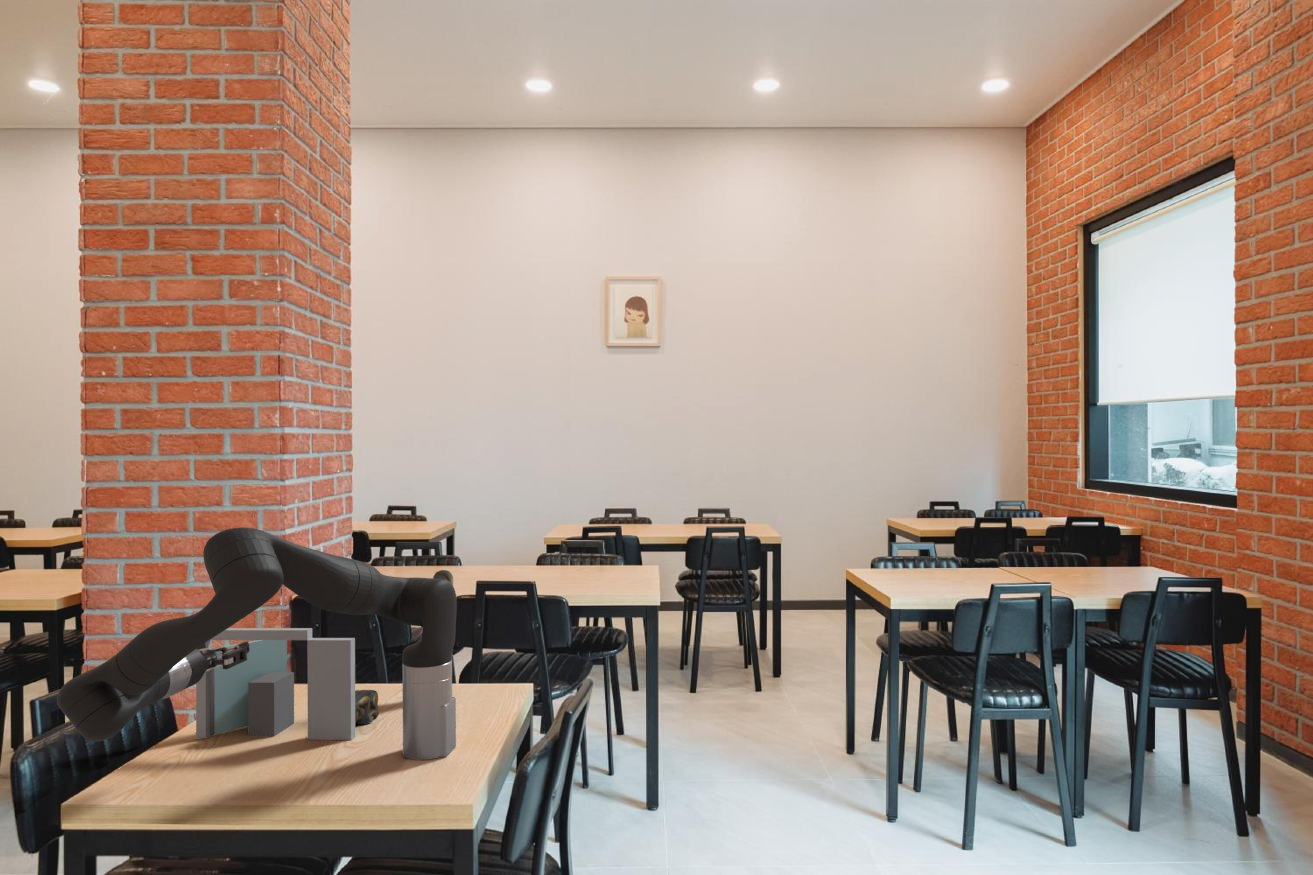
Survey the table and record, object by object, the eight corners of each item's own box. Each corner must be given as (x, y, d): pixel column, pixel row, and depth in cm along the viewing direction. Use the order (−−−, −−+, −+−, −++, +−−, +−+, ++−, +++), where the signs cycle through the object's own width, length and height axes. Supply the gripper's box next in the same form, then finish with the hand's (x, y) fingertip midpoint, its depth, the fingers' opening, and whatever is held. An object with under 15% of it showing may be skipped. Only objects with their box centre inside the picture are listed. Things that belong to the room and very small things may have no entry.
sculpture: (355, 736, 164) (355, 702, 165) (324, 736, 165) (324, 702, 165) (381, 716, 178) (381, 684, 178) (353, 716, 178) (353, 684, 178)
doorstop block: (294, 723, 173) (294, 672, 173) (274, 736, 165) (274, 682, 166) (269, 723, 174) (269, 672, 174) (248, 736, 166) (248, 682, 166)
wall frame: (355, 736, 164) (354, 628, 165) (350, 739, 162) (350, 630, 163) (202, 734, 167) (202, 628, 167) (196, 738, 165) (196, 630, 165)
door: (281, 714, 178) (281, 634, 178) (287, 716, 177) (286, 635, 177) (206, 733, 166) (206, 647, 166) (211, 735, 164) (211, 649, 165)
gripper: (129, 695, 138) (190, 667, 154) (209, 693, 137) (262, 666, 153) (128, 651, 138) (189, 628, 154) (207, 650, 137) (260, 626, 153)
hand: (225, 647), depth 154 cm, fingers open, 8 cm apart
